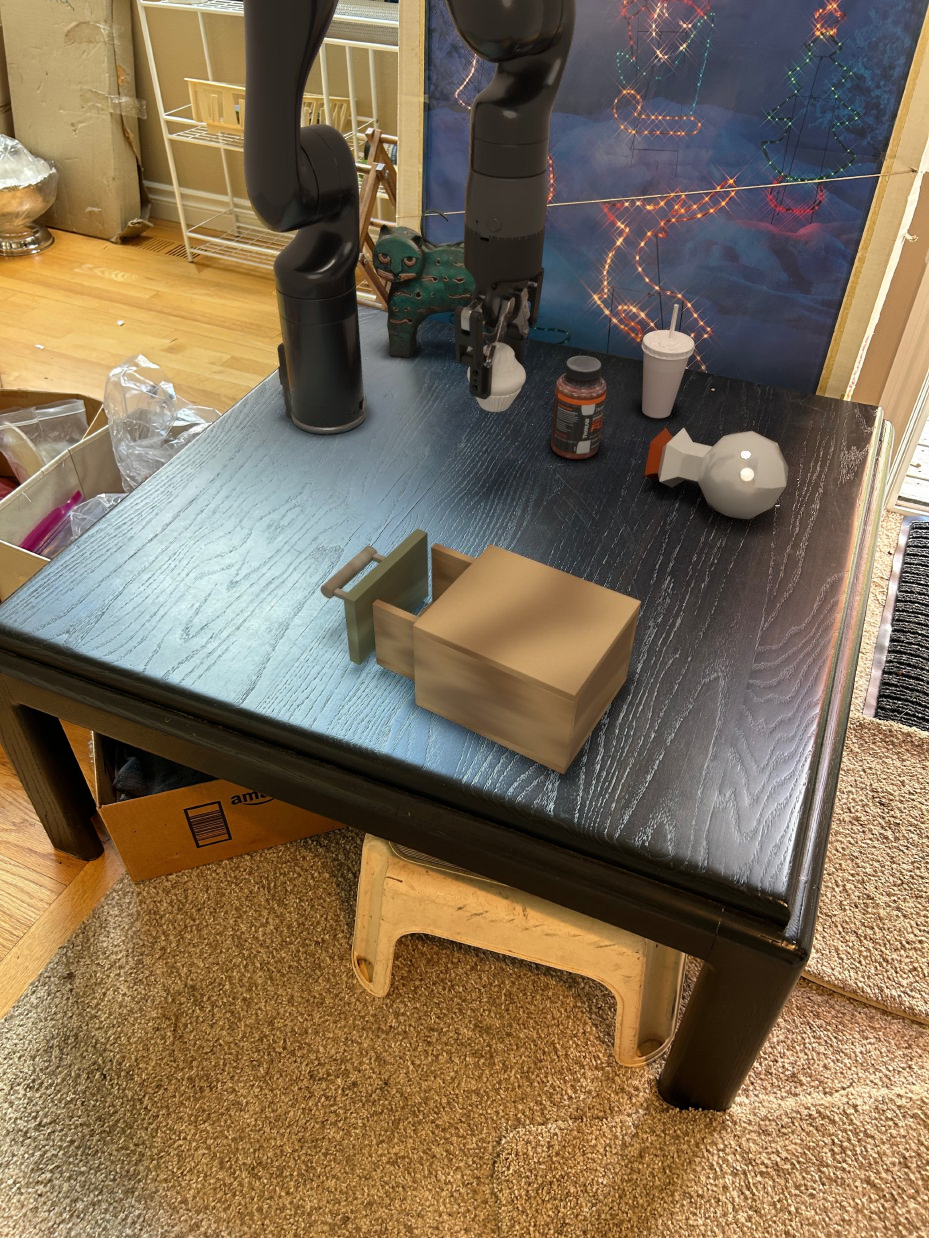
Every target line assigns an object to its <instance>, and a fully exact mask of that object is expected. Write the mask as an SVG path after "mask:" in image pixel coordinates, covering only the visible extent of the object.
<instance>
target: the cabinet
mask: <svg viewBox="0 0 929 1238" xmlns="http://www.w3.org/2000/svg"><path fill="white" fill-rule="evenodd" d="M641 606H642V601H641V600H638V599H637V598H634V597H631V596H629V595H626V594H623V593H621V592H618V591H615V590H613V589H610V588H607V587H604V586H602V585H599V584H597V583H594V582H592V581H589V580H586V579H583V578H581V577H579V576H576V575H574V574H571V573H567V572H565V571H563V570H560V569H557V568H555V567H552V566H550V565H547V564H544V563H541V562H539V561H536V560H533V559H531V558H528V557H526V556H523V555H521V554H518V553H515V552H512V551H510V550H508V549H505V548H502V547H500V546H496V545H494V544H492V543H490V544H489V545H488V546H486V548H485V549H484V551H482V553H480V554H479V556H477V558H476V560H475V561H474V562H473V563H472V564H471V565H470V566H469V567H468V568H467V569H466V570H465V571H464V572H463V573H462V574H461V575H460V577H459V578H458V579H457V580H456V581H455V582H454V583H453V584H452V585H451V586H450V587H449V588H448V589H447V590H446V591H445V592H444V593H443V594H442V595H441V596H440V597H439V598H438V599H437V600H436V601H435V603H434V604H433V605H432V606H431V607H430V608H429V609H428V610H427V611H426V612H425V613H424V614H423V615H422V616H421V617H420V618H419V619H418V620H417V621H416V622H415V623H414V624H413V642H414V670H415V682H414V691H415V692H414V694H415V695H414V696H415V697H414V698H415V699H414V700H415V705H416V706H418V707H421V708H423V709H425V710H427V711H428V712H431V713H433V714H435V715H437V716H439V717H442V718H443V719H445V720H448V721H450V722H452V723H454V724H456V725H458V726H461V727H462V728H464V729H467V730H469V731H471V732H474V733H475V734H477V735H479V736H482V737H483V738H485V739H488V740H490V741H492V742H494V743H496V744H498V745H499V746H500V745H501V746H502V747H505V748H507V749H509V750H511V751H513V752H515V753H517V754H519V755H521V756H524V757H526V758H528V759H530V760H532V761H534V762H536V763H537V764H540V765H542V766H545V767H547V768H549V769H550V770H553V771H555V772H557V773H560V774H561V775H565V774H566V773H567V771H568V769H569V767H570V766H571V764H572V763H573V761H574V760H575V758H576V757H577V755H578V754H579V753H580V751H581V749H582V748H583V747H584V745H585V743H586V742H587V740H588V739H589V737H590V736H591V734H592V732H593V731H594V729H595V728H596V727H597V725H598V723H599V722H600V720H601V719H602V717H603V716H604V714H605V713H606V711H607V709H608V708H609V707H610V705H611V703H612V702H613V701H614V699H615V698H616V696H617V694H618V693H619V692H620V690H621V688H622V687H623V685H624V684H625V683H626V681H627V677H628V671H629V665H630V661H631V657H632V651H633V645H634V641H635V635H636V630H637V625H638V620H639V615H640V610H641Z"/></svg>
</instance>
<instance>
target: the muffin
mask: <svg viewBox="0 0 929 1238" xmlns="http://www.w3.org/2000/svg"><path fill="white" fill-rule="evenodd" d="M486 347H487V344H486V345H483V348H484V353H485V350H486ZM514 356H515V353H514V351H513V349H512V348H511V347H510V346H508V345H506V344H504V343H501V344H498V345H497V346H496V349H495V353H494V357H493V361H492V365H493V366H492V385H491V395H490V396H489V397H488V398H487V399H485V400H484V399H481V398H478V397H475V399H476V401H477V403H478V405H479V406H480V407H481V409H483V410H485V411H487V412H490V413H500V412H504V411H507V410H508V409H509V408H510V407H511V406H512V404H513V402H514V401H515V399H516V398H517V396H518V395H519V394H520V392H521V390H522V387H523V385H524V384H525V383H526V380H527V379H526V378H527V374H526V370H525V368H524V365H523V366H522V365H521V364H520V363H519V362H518V361H517V360H516V358H515V357H514ZM466 375H467V376H466V377H467V380H468V382H469V381H470V366H468V368H467V372H466Z"/></svg>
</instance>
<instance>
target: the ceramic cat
mask: <svg viewBox="0 0 929 1238" xmlns="http://www.w3.org/2000/svg"><path fill="white" fill-rule="evenodd" d="M428 213H435V214H438V215H439V216H441V217H442V218H443V219H445V221H446V222H449V218H448V216H447V215H446V214H445V213H444V212H443V211H441V210H440V209H437V208H429V209H427V210H425V211H423V213H422V214H421V216H420V222H419V231H420V233H419V232H418V231H416V230H414V229H413V228H410V227H408V226H402V225H400V226H395V227H393V228H391V227H389V226H388V225H387V224H385V223H384V224H382V225H381V226H380V228H379V232H378V239H377V240H376V242H375V245H374V246H373V249H372V253H371V260H372V266H373V269H374V271H375V274H376V275H377V276H378V277H379V278H381V279H382V280H384V281H387V282H389V283H390V286H389V289H388V293H387V294H388V295H387V299H386V305H387V307H386V308H387V321H386V329H387V334H388V345H389V346H388V347H389V357H394V358H395V357H396V358H407V359H408V358H410V357H412V356H413V354H414V353H415V350H416V348H417V343H418V341H417V335H418V332H419V331H418V330H419V327H420V326H421V324H422V323H423V322H424V321H425V320H426V319H427V318H428V317H430V316H432V315H438V314H444V313H445V314H446V313H454V312H455V309H456V307H457V306H462V307H467V306H469V305H470V304H471V303H472V295H473V291H474V287H475V280H474V278H473V277H472V276H471V274H470V273H469V272H468V271H467V270H466V269H465V267H464V239H461V240H457V241H454V242H444V243H443V242H442V243H435V242H433V241H431V240H429V239H428V238H426V236H425V233H424V228H423V221H424V220H423V219H424V217H425V216H426V215H427V214H428ZM483 328H484V329H485V332H486V333H489V334H493V333H494V332H495V329H491V328H488V327H485V326H483ZM505 334H506V332H505V333H504V335H505ZM507 334H508V333H507ZM502 343H503V341H502Z"/></svg>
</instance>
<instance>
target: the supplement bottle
mask: <svg viewBox="0 0 929 1238" xmlns="http://www.w3.org/2000/svg"><path fill="white" fill-rule="evenodd" d="M564 372H565V373H564V374H563V373H562V374H561V376H559V378H557V381H556V384H555V389H554V400H553V411H552V421H551V432H550V447H551V449H552V451H553V452H554V453H555V454H557V455H558V456H559V457H560V456H561V457H563V458H566V459H569V460H585V459H588V458H590V457H592V456H594V455H595V454H596V453H598V451H599V447H600V445H601V444H600V443H601V434H602V429H603V419H604V412H605V405H606V397H607V389H608V388H607V383H606V380H604V378H602V376H601V374H602V362H601V361H600V360H598V359H597V358H596V357H593V356H589V355H575V356H572V357H570V358H568V359H567V361H566V364H565V369H564Z"/></svg>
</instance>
